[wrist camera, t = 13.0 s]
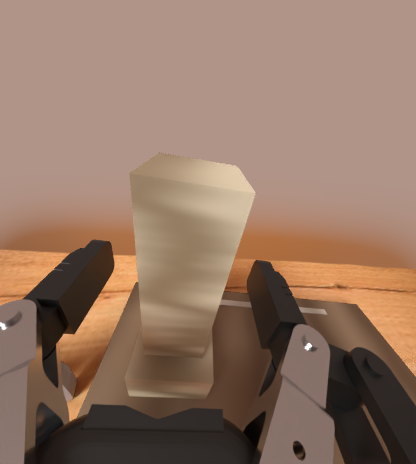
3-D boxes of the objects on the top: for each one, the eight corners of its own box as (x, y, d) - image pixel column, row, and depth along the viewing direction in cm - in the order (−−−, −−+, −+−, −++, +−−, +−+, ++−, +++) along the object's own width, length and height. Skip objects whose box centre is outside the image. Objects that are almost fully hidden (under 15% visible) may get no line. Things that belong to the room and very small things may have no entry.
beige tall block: (205, 308, 17) (244, 160, 10) (205, 399, 12) (295, 215, 4) (154, 303, 17) (154, 145, 9) (128, 396, 11) (74, 182, 4)
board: (346, 314, 22) (356, 303, 21) (465, 477, 12) (497, 475, 11) (136, 294, 20) (135, 281, 18) (62, 479, 9) (50, 476, 8)
